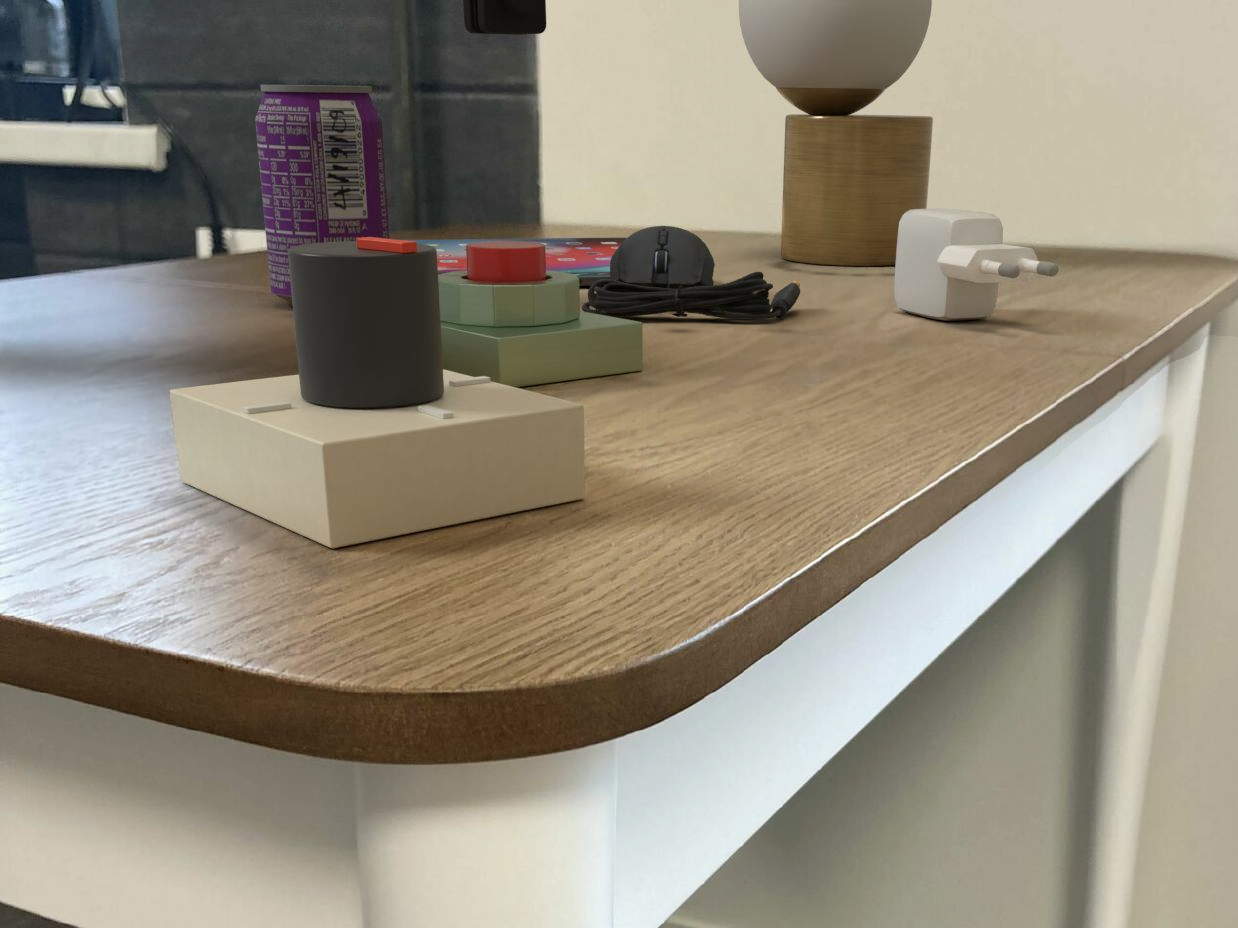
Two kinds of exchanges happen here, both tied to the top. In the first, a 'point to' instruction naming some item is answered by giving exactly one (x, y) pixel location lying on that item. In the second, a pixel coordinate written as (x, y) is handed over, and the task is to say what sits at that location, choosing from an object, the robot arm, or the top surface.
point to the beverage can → (319, 170)
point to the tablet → (561, 255)
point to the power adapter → (957, 263)
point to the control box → (379, 456)
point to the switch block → (531, 332)
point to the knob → (367, 322)
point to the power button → (506, 261)
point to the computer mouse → (680, 281)
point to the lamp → (843, 122)
